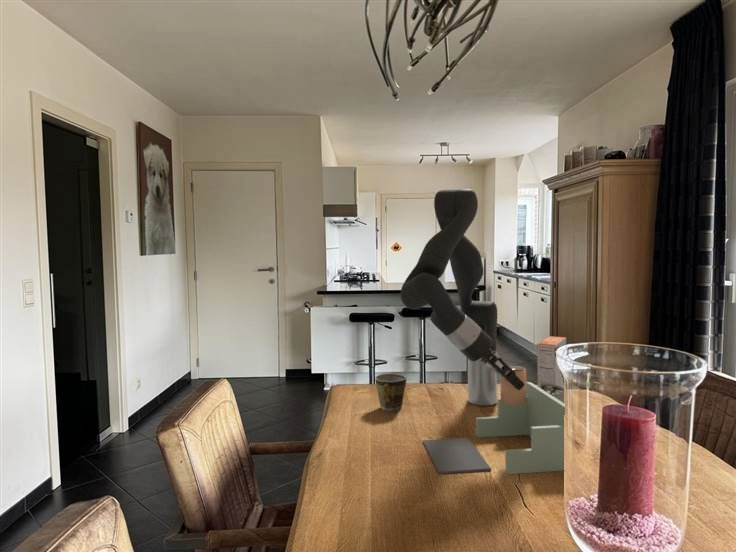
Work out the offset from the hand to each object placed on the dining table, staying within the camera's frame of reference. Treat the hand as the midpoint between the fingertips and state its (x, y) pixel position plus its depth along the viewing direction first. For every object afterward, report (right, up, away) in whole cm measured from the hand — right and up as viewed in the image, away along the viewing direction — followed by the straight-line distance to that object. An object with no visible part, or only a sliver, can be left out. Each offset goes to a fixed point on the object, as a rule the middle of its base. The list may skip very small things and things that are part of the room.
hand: (515, 383), depth 117 cm
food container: (+17, -16, +19) cm, 30 cm away
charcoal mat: (-15, -18, -1) cm, 23 cm away
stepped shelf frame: (+1, -17, +1) cm, 17 cm away
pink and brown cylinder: (-1, -4, 0) cm, 4 cm away
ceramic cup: (-29, -16, +34) cm, 48 cm away
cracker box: (+23, -15, +36) cm, 45 cm away
